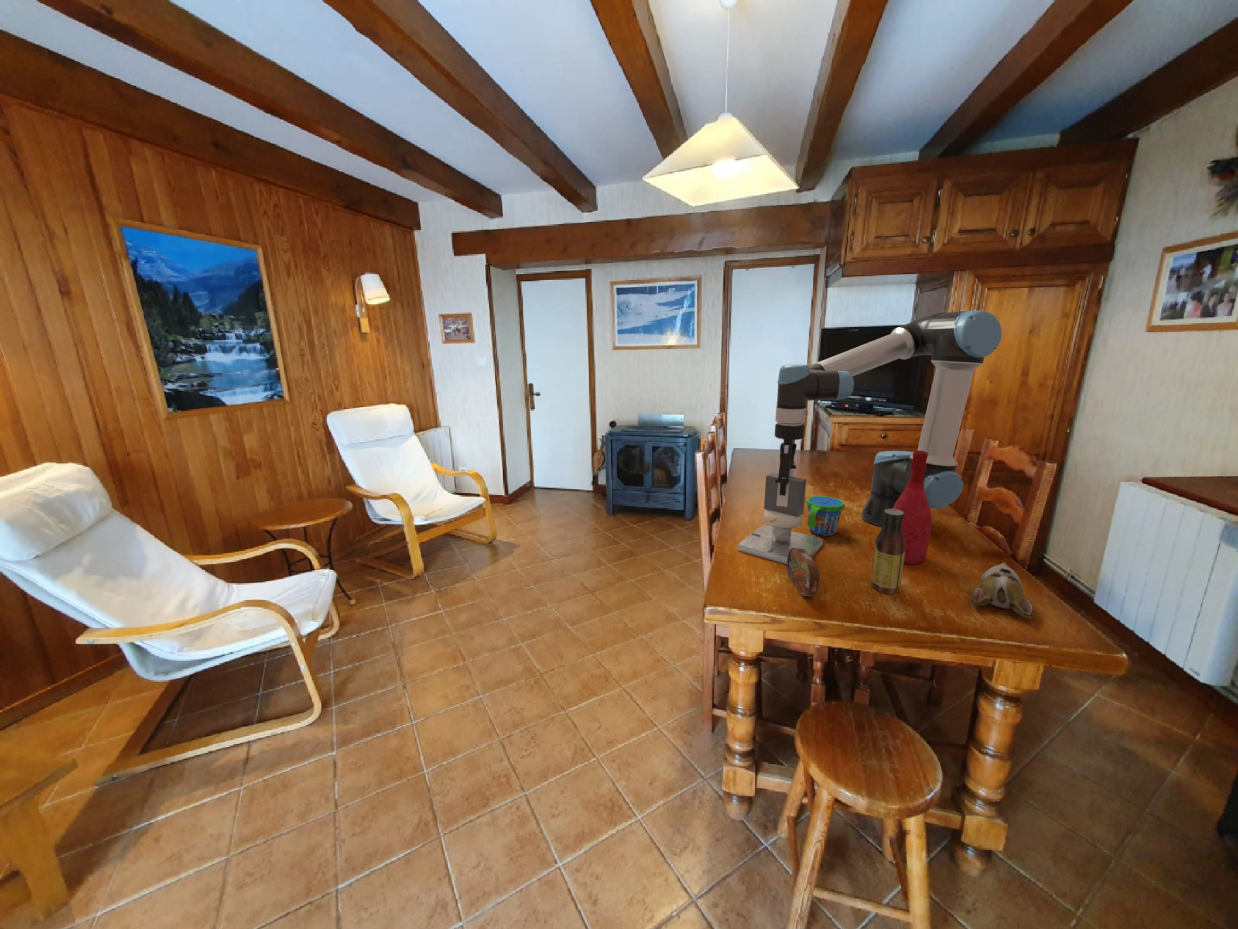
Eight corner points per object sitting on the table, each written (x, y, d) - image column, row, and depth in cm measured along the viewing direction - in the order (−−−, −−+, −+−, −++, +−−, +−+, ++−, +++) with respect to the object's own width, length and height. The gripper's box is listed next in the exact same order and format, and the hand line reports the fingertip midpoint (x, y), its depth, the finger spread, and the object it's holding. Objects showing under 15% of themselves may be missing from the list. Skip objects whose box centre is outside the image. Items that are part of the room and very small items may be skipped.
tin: (785, 571, 121) (787, 541, 119) (797, 571, 121) (800, 541, 119) (805, 603, 107) (809, 570, 104) (819, 603, 106) (823, 570, 104)
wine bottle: (890, 546, 134) (904, 445, 126) (930, 557, 127) (948, 450, 119) (878, 558, 127) (893, 451, 119) (920, 569, 120) (938, 457, 113)
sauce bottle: (883, 579, 116) (894, 504, 111) (906, 592, 110) (918, 513, 105) (863, 584, 114) (873, 508, 109) (884, 597, 108) (896, 517, 103)
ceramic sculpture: (1035, 562, 105) (1040, 594, 94) (1028, 595, 108) (1031, 630, 96) (976, 550, 111) (974, 579, 100) (970, 582, 114) (968, 613, 103)
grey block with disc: (774, 512, 139) (777, 470, 136) (807, 520, 132) (811, 476, 129) (753, 524, 131) (756, 479, 127) (787, 533, 124) (791, 487, 120)
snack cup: (822, 520, 153) (825, 491, 151) (852, 531, 145) (856, 500, 142) (791, 532, 145) (794, 501, 142) (822, 543, 137) (825, 511, 134)
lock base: (822, 545, 136) (825, 519, 134) (801, 568, 122) (804, 540, 120) (763, 530, 147) (764, 506, 145) (737, 550, 133) (739, 524, 131)
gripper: (802, 432, 113) (795, 514, 118) (807, 416, 134) (801, 486, 140) (769, 430, 116) (764, 511, 121) (780, 415, 137) (775, 483, 143)
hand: (784, 498), depth 131 cm, fingers open, 13 cm apart
